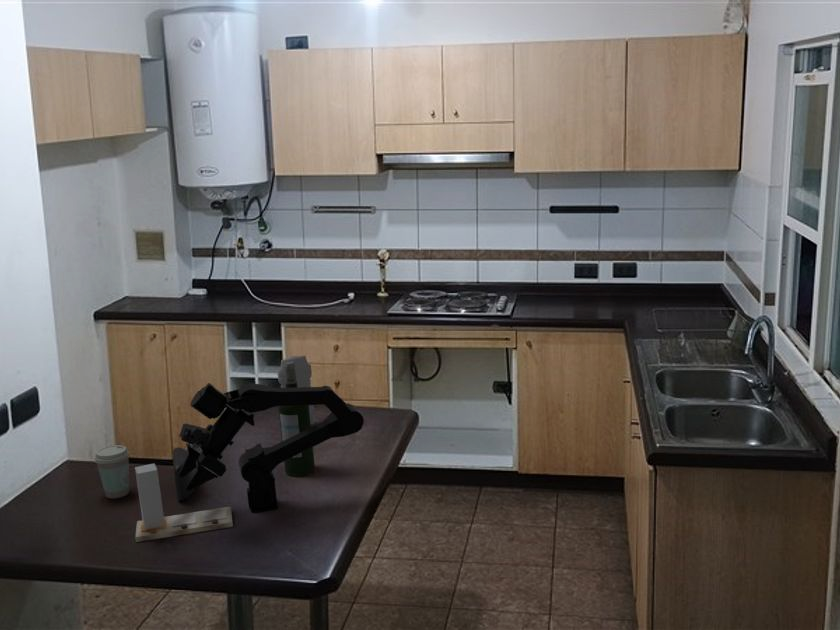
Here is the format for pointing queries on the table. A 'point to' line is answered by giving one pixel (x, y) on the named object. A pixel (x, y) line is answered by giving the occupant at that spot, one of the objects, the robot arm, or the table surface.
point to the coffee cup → (114, 470)
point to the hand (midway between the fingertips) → (183, 483)
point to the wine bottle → (295, 428)
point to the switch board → (187, 524)
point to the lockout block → (149, 496)
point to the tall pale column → (298, 377)
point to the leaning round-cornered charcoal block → (178, 462)
